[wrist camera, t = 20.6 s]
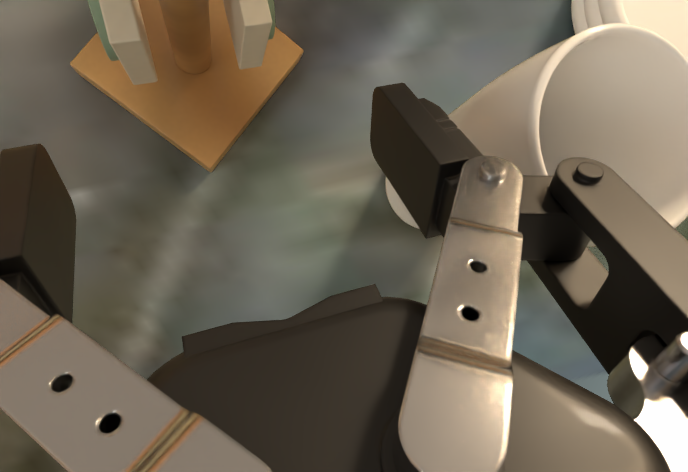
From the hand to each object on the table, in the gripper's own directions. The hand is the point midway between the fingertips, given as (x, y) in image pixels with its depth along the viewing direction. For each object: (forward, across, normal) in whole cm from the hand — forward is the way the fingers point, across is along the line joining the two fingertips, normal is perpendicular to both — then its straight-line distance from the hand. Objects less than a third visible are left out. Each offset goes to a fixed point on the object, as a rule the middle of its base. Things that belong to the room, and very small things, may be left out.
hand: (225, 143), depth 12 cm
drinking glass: (+9, -11, +12) cm, 18 cm away
